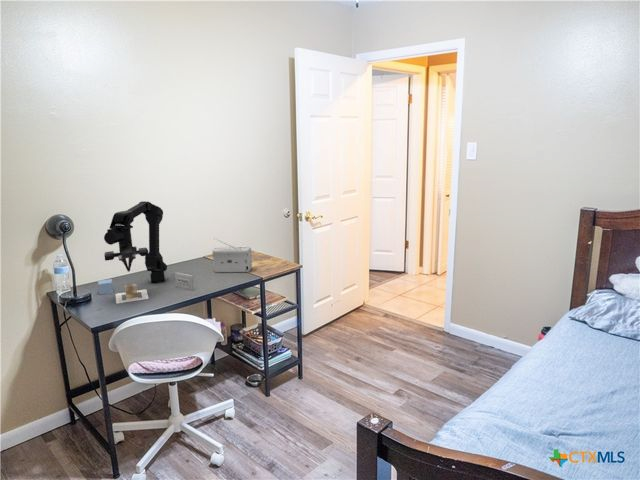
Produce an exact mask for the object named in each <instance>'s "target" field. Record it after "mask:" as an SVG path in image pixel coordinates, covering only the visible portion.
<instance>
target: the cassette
mask: <svg viewBox="0 0 640 480" xmlns="http://www.w3.org/2000/svg"><path fill="white" fill-rule="evenodd" d="M174 276H175V277H174V278H175V286H176V288H179V289H183V290H188V291H195V286H194V285H195V283H194V276H193V275H192V274H187V273H182V272H178V271H176V272H174Z"/></svg>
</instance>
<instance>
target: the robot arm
mask: <svg viewBox="0 0 640 480" xmlns="http://www.w3.org/2000/svg"><path fill="white" fill-rule="evenodd" d="M142 214H143V215H144V216H145V217H144V218H145V221H146V222H147V224H148V248H147V247H138V249H137V246H136V245H135V246H133V239H132V233H131V230H132V229H133V228H134V226H133V225H131V224H132V223H133V222H134V219H135V218H136V217H138V216H140V215H142ZM163 217H164V211H163V209H162V207H160V206H158V205H156V204H153V203H151V201H143V200H142V201H139V202H138V203H137V204H135V205H134V206H132V207H130V208H128V209H127V210H122V211H117V212H115V213H114V214H113V216H112V219H111V222H110V224H109V225H110V226H109V228H107V230H106V232H105V234H104V236H103V240H104V242H105V243H106V244H108V245H109V246H110V245H111V246H112V245H114V244H118V248H119V249H118V251H119V252H115V251H113V250H112V251H105V252H104V261H112V260H114V259H115V258H118V261H121V262H122V264H123V265H124V266H125V268H126V269H125V270H126V271H127V272H130V271H131V267H132V264H133V261H134V260H135V259H136V258H137V256H136V255H139V256H141V257H144V264H145V268H146V270H147V272H150V273H149V278H150V283H152V284H159V283H165V282H166V279H165V278H166V277H165V272H167V269H168V265H167V264H166V263H165V262H164V260H163V259H164V258H163V255H161V252H160V224H161V222H162V221H163ZM127 259H128V261H127Z"/></svg>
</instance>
